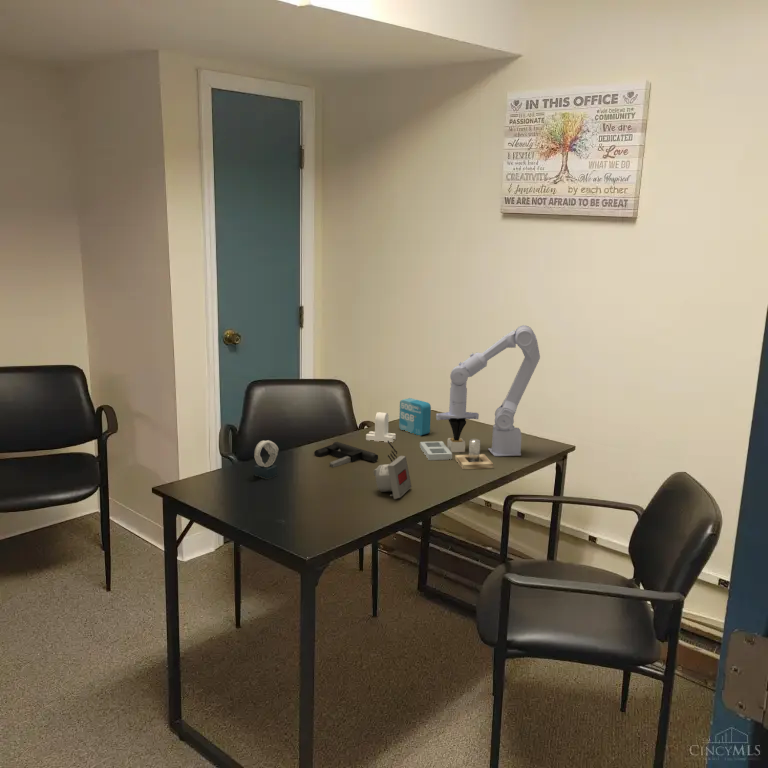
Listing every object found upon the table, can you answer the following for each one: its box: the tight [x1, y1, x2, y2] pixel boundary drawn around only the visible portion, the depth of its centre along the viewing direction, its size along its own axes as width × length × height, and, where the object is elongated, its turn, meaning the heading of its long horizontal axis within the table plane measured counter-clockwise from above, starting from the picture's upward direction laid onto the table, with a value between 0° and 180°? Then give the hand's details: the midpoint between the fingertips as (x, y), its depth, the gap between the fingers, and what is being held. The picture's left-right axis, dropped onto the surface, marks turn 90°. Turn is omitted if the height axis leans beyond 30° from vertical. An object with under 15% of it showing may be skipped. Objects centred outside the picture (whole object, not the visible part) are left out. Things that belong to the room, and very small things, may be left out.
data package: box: [398, 397, 432, 437], centre depth 267 cm, size 12×4×12 cm, turn 44°
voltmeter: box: [373, 441, 412, 500], centre depth 213 cm, size 27×11×10 cm, turn 13°
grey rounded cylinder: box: [468, 438, 481, 462], centre depth 233 cm, size 4×4×8 cm
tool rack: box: [419, 440, 453, 461], centre depth 243 cm, size 8×14×2 cm, turn 9°
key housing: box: [446, 437, 466, 453], centre depth 247 cm, size 5×5×4 cm
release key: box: [450, 437, 462, 442], centre depth 247 cm, size 3×3×3 cm
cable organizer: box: [365, 411, 397, 443], centre depth 257 cm, size 5×10×10 cm, turn 73°
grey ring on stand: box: [253, 439, 279, 479], centre depth 218 cm, size 6×8×11 cm
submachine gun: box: [313, 441, 379, 468], centre depth 236 cm, size 3×20×16 cm
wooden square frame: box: [454, 453, 494, 470], centre depth 233 cm, size 10×10×2 cm
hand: (456, 439), depth 247 cm, fingers closed, pressing on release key
